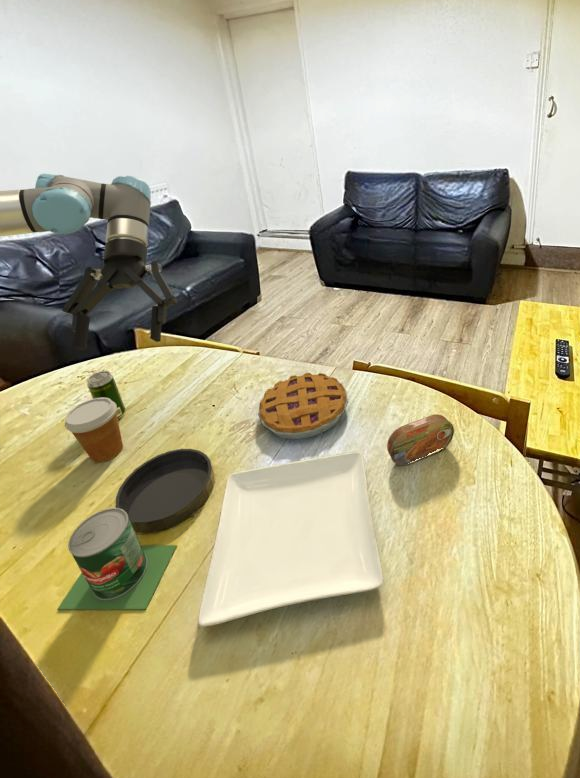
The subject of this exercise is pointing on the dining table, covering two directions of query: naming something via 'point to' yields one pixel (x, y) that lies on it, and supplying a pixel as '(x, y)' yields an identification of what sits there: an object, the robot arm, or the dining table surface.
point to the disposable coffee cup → (96, 428)
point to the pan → (166, 490)
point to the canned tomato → (108, 553)
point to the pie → (303, 406)
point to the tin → (419, 439)
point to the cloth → (132, 600)
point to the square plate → (291, 538)
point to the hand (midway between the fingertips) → (118, 344)
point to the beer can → (106, 390)
